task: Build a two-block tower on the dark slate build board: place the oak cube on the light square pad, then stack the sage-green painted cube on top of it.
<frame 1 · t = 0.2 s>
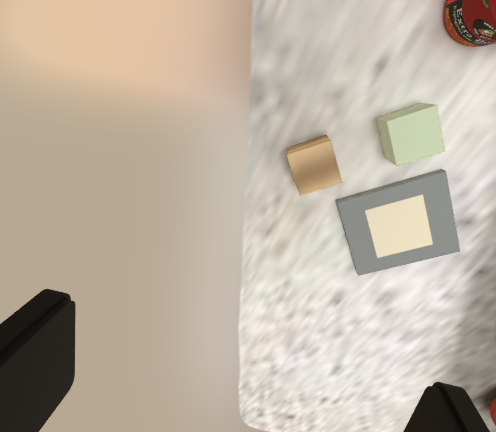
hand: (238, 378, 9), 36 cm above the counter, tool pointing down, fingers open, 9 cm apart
canned food: (480, 6, 35), on the counter
oak block: (311, 160, 43), on the counter
build board: (396, 223, 44), on the counter
sage block: (401, 131, 40), on the counter
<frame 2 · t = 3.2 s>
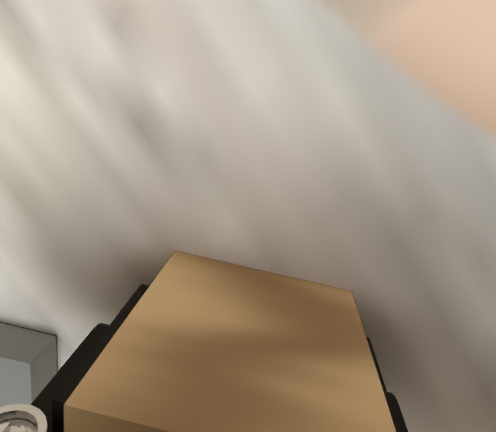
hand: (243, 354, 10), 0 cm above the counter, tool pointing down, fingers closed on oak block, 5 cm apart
oak block: (245, 341, 10), on the counter, touching gripper
when the fingers open (3 cm above the counter, at t = 8.4 s): oak block stays where it is, resting on build board.
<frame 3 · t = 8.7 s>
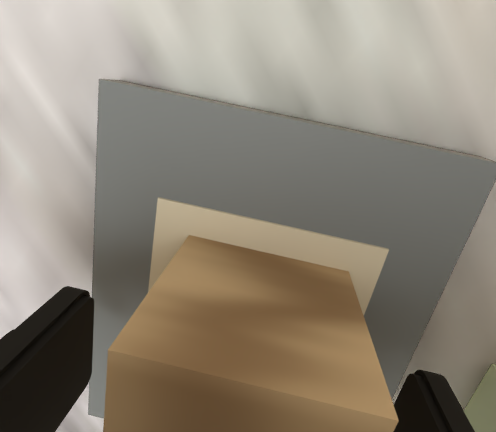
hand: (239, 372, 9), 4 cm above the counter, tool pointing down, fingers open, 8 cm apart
oak block: (252, 318, 11), point 1 cm above the counter, touching build board
build board: (253, 297, 12), on the counter
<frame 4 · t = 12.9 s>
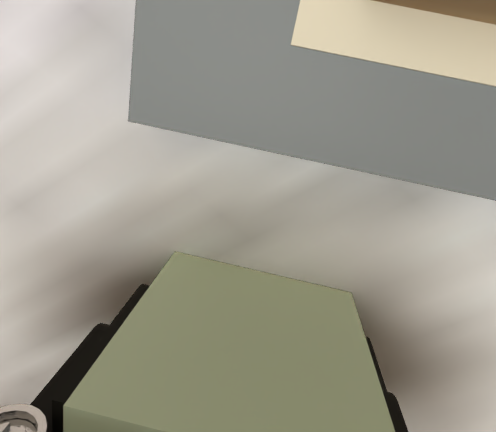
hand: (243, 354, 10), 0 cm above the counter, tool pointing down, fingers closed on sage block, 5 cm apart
sage block: (245, 342, 10), on the counter, touching gripper
when the fingers open (8 cm above the counter, at t = 18.6 s): sage block stays where it is, resting on oak block.
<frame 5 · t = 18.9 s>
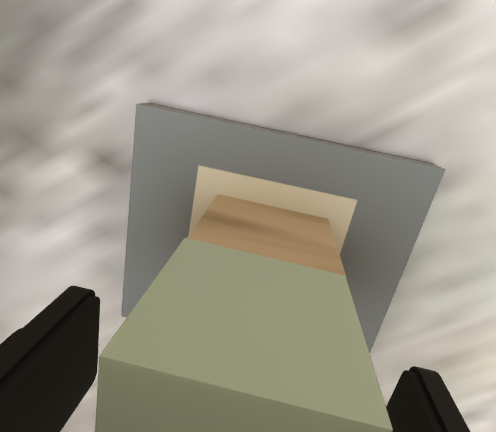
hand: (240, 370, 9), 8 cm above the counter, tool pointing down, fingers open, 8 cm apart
oak block: (261, 255, 16), point 1 cm above the counter, touching build board, sage block
build board: (262, 242, 17), on the counter
sage block: (247, 322, 11), point 6 cm above the counter, touching oak block
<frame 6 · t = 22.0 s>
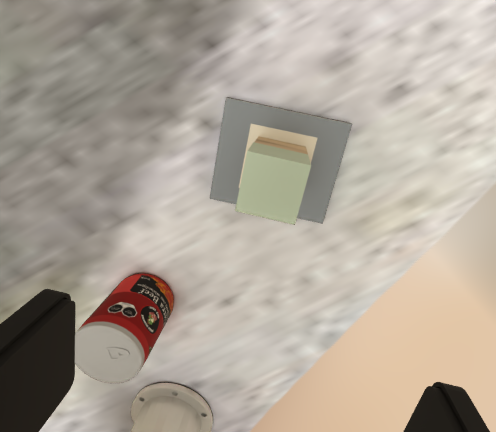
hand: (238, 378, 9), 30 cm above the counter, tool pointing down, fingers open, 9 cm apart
canned food: (147, 295, 46), on the counter
oak block: (276, 164, 36), point 1 cm above the counter, touching build board, sage block
build board: (276, 161, 37), on the counter
sage block: (274, 174, 31), point 6 cm above the counter, touching oak block
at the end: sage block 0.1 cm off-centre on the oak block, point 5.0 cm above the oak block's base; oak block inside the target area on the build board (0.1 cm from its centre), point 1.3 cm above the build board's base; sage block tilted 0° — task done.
